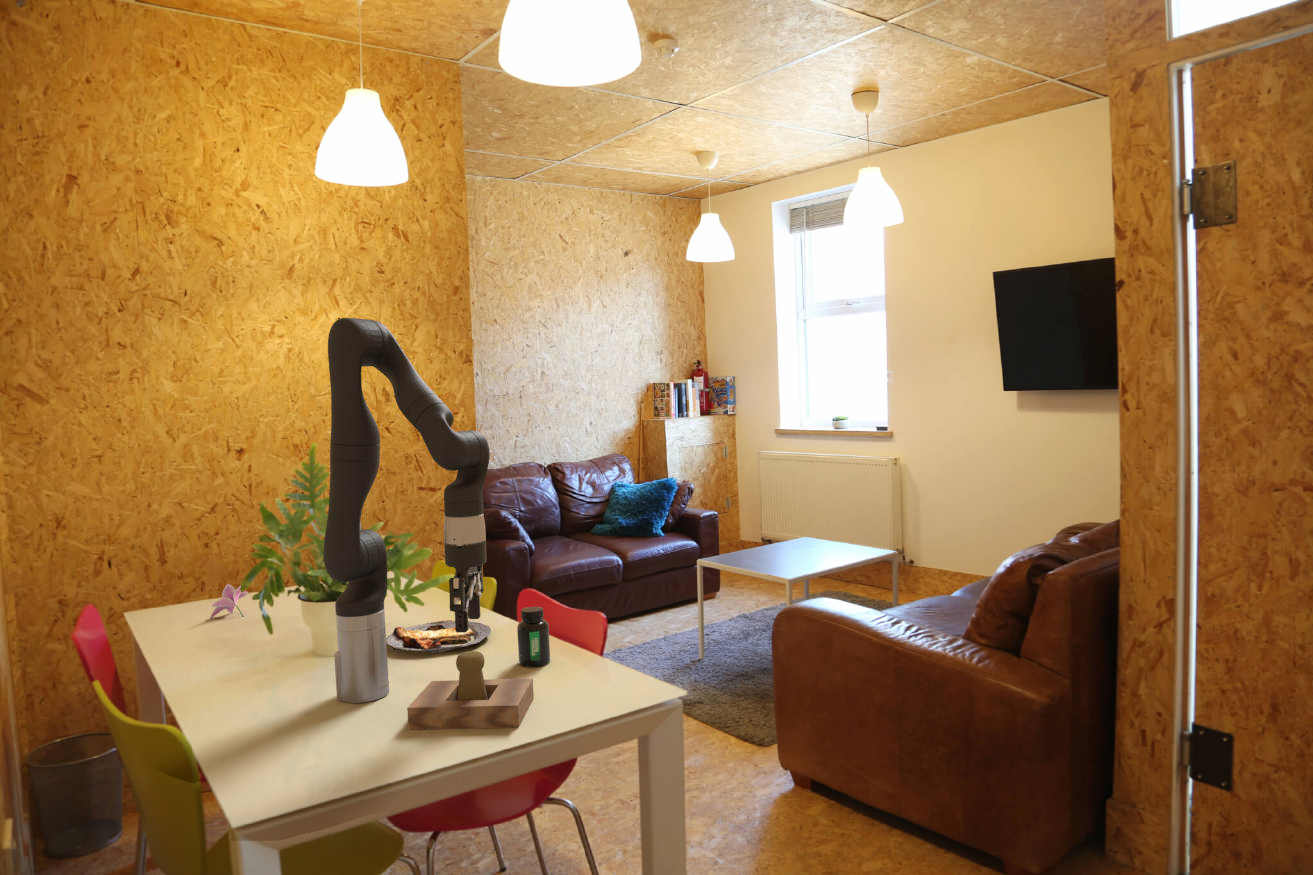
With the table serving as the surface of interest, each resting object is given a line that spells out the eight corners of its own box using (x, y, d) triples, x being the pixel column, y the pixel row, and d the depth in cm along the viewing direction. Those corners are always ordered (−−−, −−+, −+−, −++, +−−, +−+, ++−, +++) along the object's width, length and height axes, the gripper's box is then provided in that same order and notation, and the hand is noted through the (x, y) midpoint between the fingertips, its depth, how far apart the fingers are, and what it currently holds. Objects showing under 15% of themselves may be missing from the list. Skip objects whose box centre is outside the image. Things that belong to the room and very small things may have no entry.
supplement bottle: (541, 668, 184) (539, 614, 183) (513, 666, 186) (510, 612, 185) (555, 658, 190) (553, 605, 190) (528, 656, 192) (525, 604, 192)
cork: (457, 718, 156) (454, 659, 155) (455, 707, 161) (452, 650, 161) (490, 713, 157) (487, 655, 157) (487, 702, 163) (484, 646, 162)
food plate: (383, 662, 193) (383, 646, 193) (385, 635, 215) (385, 621, 215) (495, 651, 200) (495, 636, 200) (486, 626, 222) (486, 613, 222)
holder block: (408, 729, 153) (407, 707, 153) (432, 700, 167) (431, 680, 167) (518, 727, 152) (517, 705, 152) (533, 698, 166) (532, 678, 166)
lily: (257, 612, 249) (240, 583, 249) (265, 603, 240) (248, 573, 240) (216, 633, 241) (199, 604, 241) (223, 625, 232) (205, 594, 232)
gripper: (455, 532, 165) (459, 614, 166) (433, 546, 151) (436, 636, 152) (494, 531, 164) (497, 614, 165) (475, 546, 150) (478, 636, 151)
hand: (468, 625), depth 158 cm, fingers open, 8 cm apart
